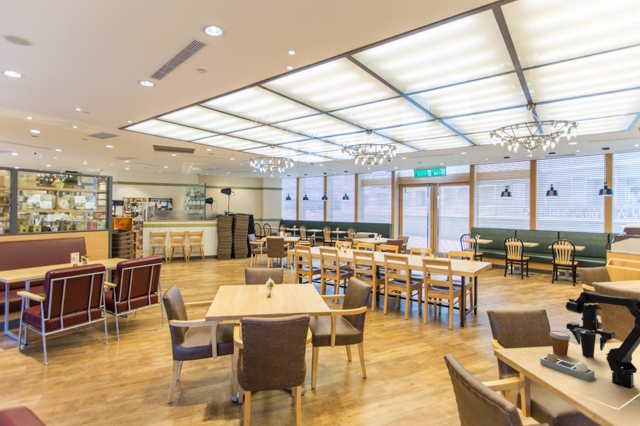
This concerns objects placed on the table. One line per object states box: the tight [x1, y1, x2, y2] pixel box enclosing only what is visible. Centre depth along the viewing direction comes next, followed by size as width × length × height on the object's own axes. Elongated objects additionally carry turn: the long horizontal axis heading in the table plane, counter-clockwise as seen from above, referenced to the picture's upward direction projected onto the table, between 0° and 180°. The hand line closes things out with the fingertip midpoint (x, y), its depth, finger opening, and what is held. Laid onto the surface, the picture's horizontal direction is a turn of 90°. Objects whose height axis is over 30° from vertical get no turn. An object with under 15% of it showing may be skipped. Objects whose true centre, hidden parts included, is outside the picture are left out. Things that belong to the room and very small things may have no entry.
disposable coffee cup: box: [549, 330, 571, 357], centre depth 185 cm, size 10×10×12 cm
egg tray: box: [539, 355, 596, 381], centre depth 164 cm, size 21×7×4 cm, turn 30°
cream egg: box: [575, 361, 588, 373], centre depth 159 cm, size 4×4×6 cm
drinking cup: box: [580, 330, 597, 359], centre depth 183 cm, size 8×8×20 cm
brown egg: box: [546, 352, 558, 363], centre depth 170 cm, size 4×4×6 cm
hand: (590, 347), depth 165 cm, fingers open, 9 cm apart
